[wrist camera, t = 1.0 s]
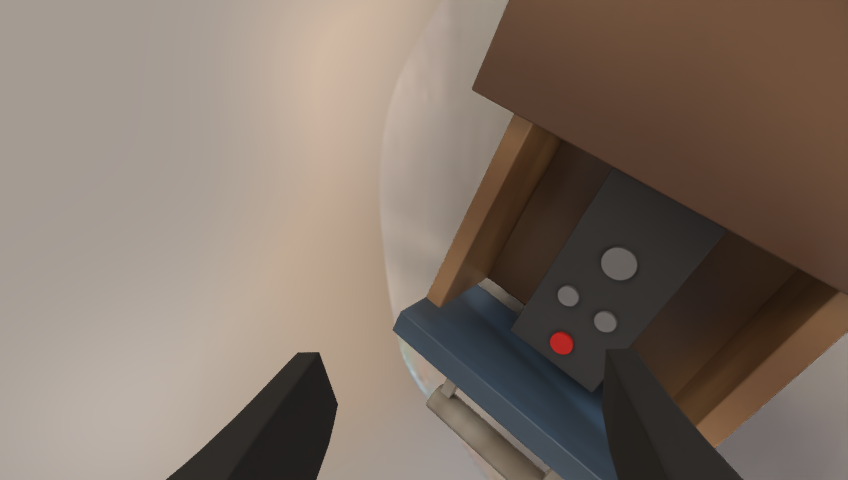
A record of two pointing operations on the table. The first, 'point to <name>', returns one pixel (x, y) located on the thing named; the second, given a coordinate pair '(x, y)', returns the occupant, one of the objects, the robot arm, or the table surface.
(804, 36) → the cabinet
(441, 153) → the table surface
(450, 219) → the table surface
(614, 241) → the remote
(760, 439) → the table surface
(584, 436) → the drawer
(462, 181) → the table surface
